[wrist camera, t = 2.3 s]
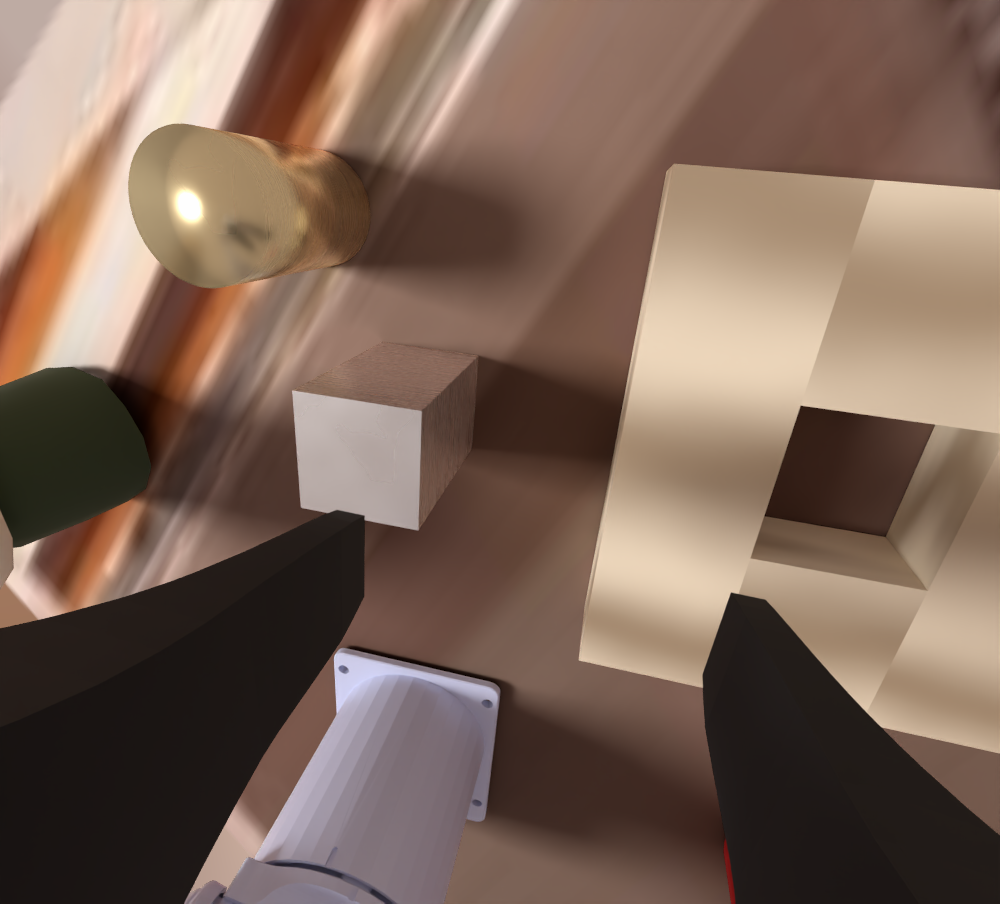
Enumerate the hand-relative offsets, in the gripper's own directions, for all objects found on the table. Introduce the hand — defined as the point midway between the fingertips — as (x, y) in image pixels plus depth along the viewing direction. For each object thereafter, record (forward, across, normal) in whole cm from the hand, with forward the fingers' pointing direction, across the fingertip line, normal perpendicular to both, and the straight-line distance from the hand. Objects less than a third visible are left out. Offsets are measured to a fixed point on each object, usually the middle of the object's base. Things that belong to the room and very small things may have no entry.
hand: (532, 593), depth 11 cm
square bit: (+10, +6, 0) cm, 11 cm away
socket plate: (+10, -8, 0) cm, 13 cm away
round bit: (+10, +10, -6) cm, 15 cm away
